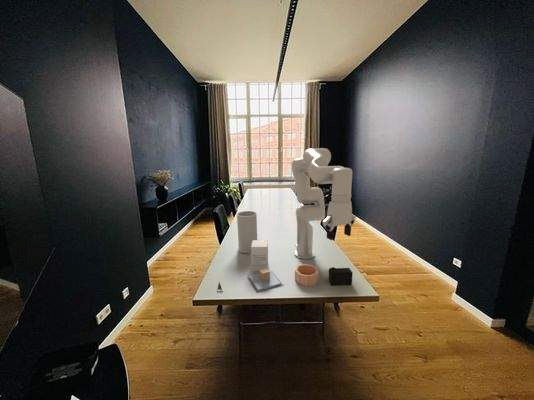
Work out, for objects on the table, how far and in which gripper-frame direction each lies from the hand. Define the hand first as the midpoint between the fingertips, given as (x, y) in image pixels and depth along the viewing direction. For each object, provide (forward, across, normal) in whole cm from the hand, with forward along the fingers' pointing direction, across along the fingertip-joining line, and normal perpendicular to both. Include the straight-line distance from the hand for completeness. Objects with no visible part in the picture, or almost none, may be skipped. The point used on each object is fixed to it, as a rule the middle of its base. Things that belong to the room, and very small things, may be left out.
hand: (338, 237), depth 94 cm
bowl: (+28, +6, -15) cm, 32 cm away
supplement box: (+28, +22, -36) cm, 51 cm away
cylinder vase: (+28, +20, -61) cm, 70 cm away
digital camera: (+28, -8, -6) cm, 30 cm away
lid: (+27, +25, -22) cm, 43 cm away
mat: (+28, +25, -22) cm, 44 cm away
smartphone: (+28, +43, -31) cm, 60 cm away
